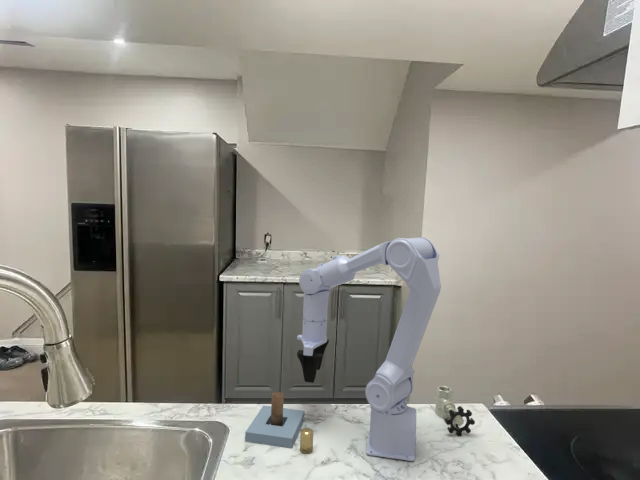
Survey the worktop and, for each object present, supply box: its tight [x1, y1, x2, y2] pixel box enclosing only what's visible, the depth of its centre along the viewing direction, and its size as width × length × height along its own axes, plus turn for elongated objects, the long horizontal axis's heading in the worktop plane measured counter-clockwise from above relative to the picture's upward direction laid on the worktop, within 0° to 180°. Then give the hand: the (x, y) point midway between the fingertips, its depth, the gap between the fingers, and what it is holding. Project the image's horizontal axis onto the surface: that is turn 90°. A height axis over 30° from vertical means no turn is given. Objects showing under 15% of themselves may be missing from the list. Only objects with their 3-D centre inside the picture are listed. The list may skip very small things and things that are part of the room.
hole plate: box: [244, 404, 306, 449], centre depth 91 cm, size 10×12×2 cm
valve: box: [434, 385, 476, 438], centre depth 97 cm, size 7×7×12 cm
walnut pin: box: [270, 391, 285, 427], centre depth 91 cm, size 3×3×8 cm
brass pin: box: [299, 427, 314, 455], centre depth 83 cm, size 3×3×4 cm
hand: (312, 375), depth 98 cm, fingers open, 7 cm apart
